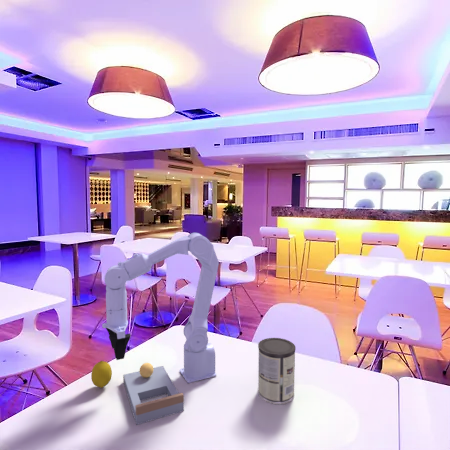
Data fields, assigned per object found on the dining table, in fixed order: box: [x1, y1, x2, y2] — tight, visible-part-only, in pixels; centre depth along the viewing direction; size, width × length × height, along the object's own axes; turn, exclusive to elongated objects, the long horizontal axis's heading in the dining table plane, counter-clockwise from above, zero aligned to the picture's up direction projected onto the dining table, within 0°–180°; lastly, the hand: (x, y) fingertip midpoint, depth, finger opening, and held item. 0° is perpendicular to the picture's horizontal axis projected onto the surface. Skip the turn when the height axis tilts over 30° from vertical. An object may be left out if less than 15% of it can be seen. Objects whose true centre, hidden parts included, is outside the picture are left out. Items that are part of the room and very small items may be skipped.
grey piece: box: [122, 365, 185, 425], centre depth 89 cm, size 12×20×4 cm, turn 26°
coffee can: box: [257, 337, 296, 405], centre depth 91 cm, size 10×10×14 cm
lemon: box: [90, 360, 113, 389], centre depth 93 cm, size 6×6×8 cm
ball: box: [139, 362, 154, 378], centre depth 95 cm, size 4×4×4 cm
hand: (117, 352), depth 94 cm, fingers open, 7 cm apart
